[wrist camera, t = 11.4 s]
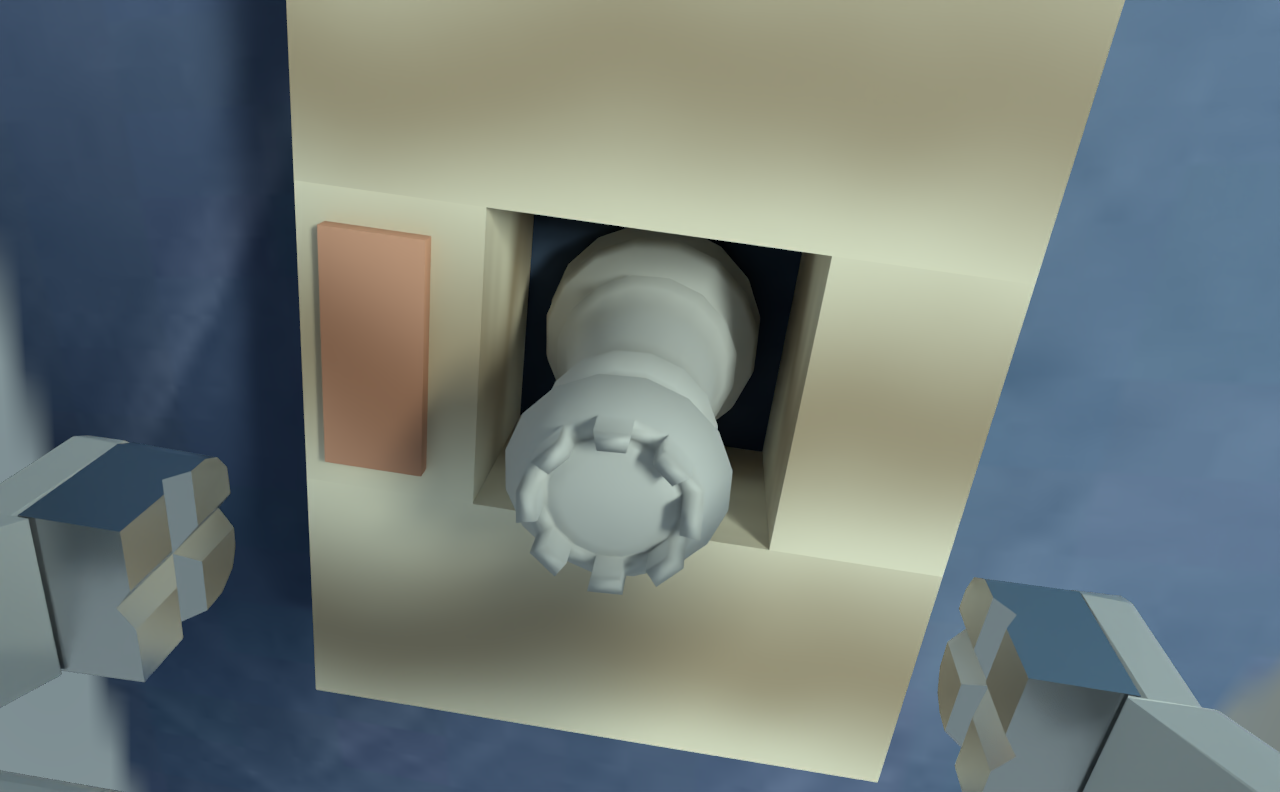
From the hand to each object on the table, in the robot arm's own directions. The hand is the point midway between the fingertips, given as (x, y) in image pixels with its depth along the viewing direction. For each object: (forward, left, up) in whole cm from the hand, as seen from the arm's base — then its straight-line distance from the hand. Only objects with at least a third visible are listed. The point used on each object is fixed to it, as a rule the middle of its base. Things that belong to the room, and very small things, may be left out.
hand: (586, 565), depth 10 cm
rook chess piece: (+1, 0, -10) cm, 10 cm away
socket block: (0, 0, -10) cm, 10 cm away
